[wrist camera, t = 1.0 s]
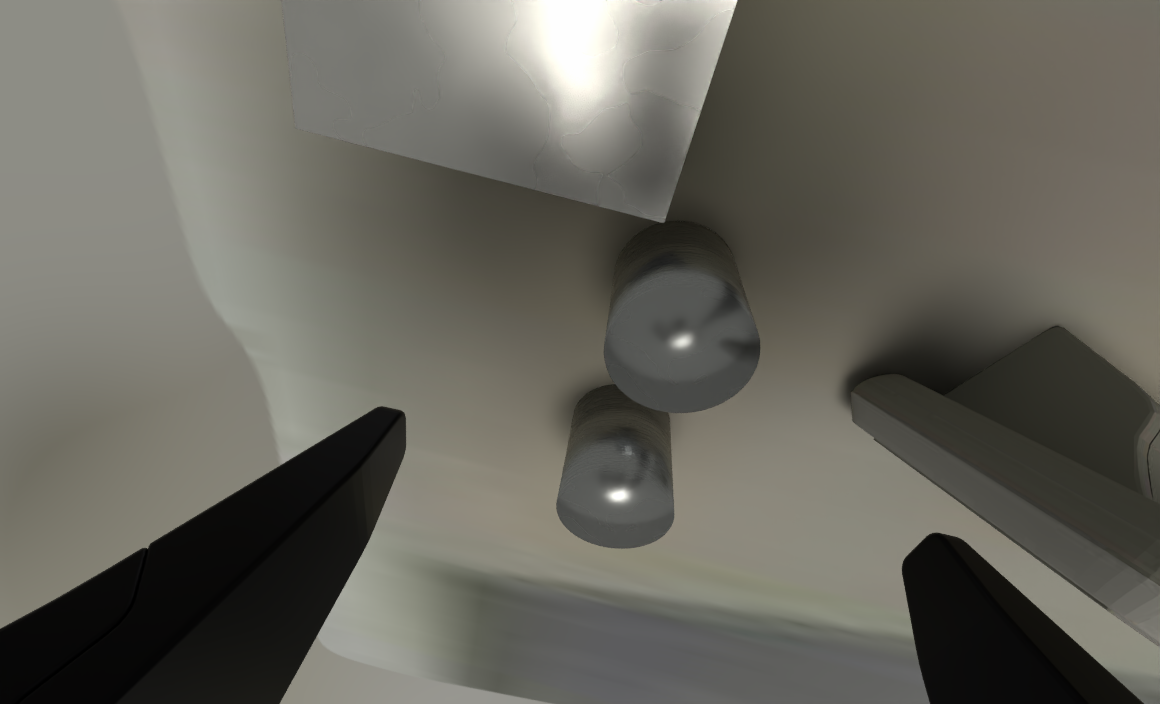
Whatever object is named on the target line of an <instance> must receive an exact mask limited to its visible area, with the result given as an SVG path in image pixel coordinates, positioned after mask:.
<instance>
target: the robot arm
mask: <svg viewBox="0 0 1160 704" xmlns="http://www.w3.org/2000/svg"><path fill="white" fill-rule="evenodd" d="M405 450H406V417H405V414H404V412H403V411H401V410H397V409H392V408H388V407H383V406H381V407H377V408H375V409H373V410H372V411H370V412H368V413H367V414H365V415H363V416H362V417H360V418H358V419H357V420H355V421H353V422H352V423H350V424H348V425H347V426H345V427H343V428H342V429H340V430H338V431H337V432H335V433H333V434H332V435H330V436H328V437H327V438H325V439H323V440H322V441H320V442H318V443H317V444H315V445H313V446H312V447H310V448H308V449H307V450H305V451H303V452H302V453H300V454H298V455H297V456H295V457H293V458H292V459H290V460H289V461H287V462H285V463H284V464H282V465H280V466H279V467H277V468H275V469H274V470H272V471H270V472H269V473H267V474H265V475H264V476H262V477H260V478H259V479H257V480H255V481H254V482H252V483H250V484H249V485H247V486H245V487H244V488H242V489H240V490H239V491H237V492H235V493H234V494H232V495H230V496H229V497H227V498H225V499H224V500H222V501H220V502H219V503H217V504H216V505H214V506H212V507H210V508H209V509H207V510H205V511H204V512H202V513H200V514H199V515H197V516H195V517H194V518H192V519H190V520H189V521H187V522H185V523H184V524H182V525H180V526H179V527H177V528H175V529H174V530H172V531H170V532H169V533H167V534H165V535H164V536H162V537H160V538H159V539H157V540H155V541H154V542H152V543H151V544H150V545H149V548H148V549H147V548H142V549H140V550H139V551H137V552H135V553H133V554H132V555H130V556H128V557H127V558H125V559H123V560H122V561H120V562H118V563H117V564H115V565H113V566H112V567H110V568H108V569H107V570H105V571H103V572H101V573H100V574H98V575H97V576H95V577H93V578H91V579H89V580H88V581H86V582H84V583H82V584H81V585H79V586H77V587H75V588H74V589H72V590H70V591H69V592H67V593H65V594H63V595H62V596H60V597H58V598H56V599H55V600H53V601H51V602H49V603H47V604H45V605H44V606H42V607H40V608H38V609H36V610H34V611H32V612H31V613H29V614H27V615H25V616H23V617H21V618H19V619H18V620H16V621H14V622H12V623H10V624H8V625H7V626H5V627H3V628H1V629H0V704H280V702H281V700H282V698H283V696H284V694H285V693H286V691H287V689H288V687H289V685H290V684H291V681H292V680H293V678H294V676H295V675H296V673H297V671H298V669H299V667H300V665H301V664H302V662H303V660H304V658H305V656H306V655H307V653H308V651H309V649H310V647H311V646H312V644H313V642H314V640H315V638H316V637H317V635H318V633H319V631H320V629H321V627H322V626H323V624H324V622H325V620H326V618H327V617H328V615H329V613H330V611H331V609H332V608H333V606H334V604H335V602H336V600H337V598H338V597H339V595H340V593H341V591H342V589H343V588H344V586H345V584H346V582H347V580H348V579H349V577H350V575H351V573H352V571H353V569H354V568H355V566H356V564H357V562H358V560H359V559H360V557H361V555H362V553H363V551H364V549H365V547H366V545H367V543H368V541H369V539H370V537H371V534H372V532H373V530H374V528H375V525H376V523H377V520H378V518H379V515H380V513H381V511H382V508H383V506H384V503H385V501H386V499H387V496H388V494H389V491H390V489H391V487H392V484H393V482H394V479H395V477H396V474H397V472H398V470H399V467H400V465H401V462H402V460H403V457H404V454H405ZM902 575H903V581H904V586H905V591H906V597H907V602H908V608H909V613H910V618H911V624H912V629H913V635H914V640H915V645H916V651H917V655H918V660H919V665H920V669H921V673H922V677H923V680H924V684H925V688H926V691H927V695H928V698H929V702H930V704H1144V703H1143V702H1142V701H1140V700H1139V699H1138V698H1137V697H1136V696H1135V695H1134V694H1133V693H1132V692H1131V691H1129V690H1128V689H1127V688H1126V687H1125V686H1124V685H1123V684H1122V683H1121V682H1119V681H1118V680H1117V679H1116V678H1115V677H1114V676H1113V675H1112V674H1111V673H1110V672H1108V671H1107V670H1106V669H1105V668H1104V667H1103V666H1102V665H1101V664H1100V663H1098V662H1097V661H1096V660H1095V659H1094V658H1093V657H1092V656H1091V655H1090V654H1089V653H1087V652H1086V651H1085V650H1084V649H1083V648H1082V647H1081V646H1080V645H1079V644H1078V643H1076V642H1075V641H1074V640H1073V639H1072V638H1071V637H1070V636H1069V635H1068V634H1066V633H1065V632H1064V631H1063V630H1062V629H1061V628H1060V627H1059V626H1058V625H1057V624H1055V623H1054V622H1053V621H1052V620H1051V619H1050V618H1049V617H1048V616H1047V615H1045V614H1044V613H1043V612H1042V611H1041V610H1040V609H1039V608H1038V607H1037V606H1036V605H1034V604H1033V603H1032V602H1031V601H1030V600H1029V599H1028V598H1027V597H1026V596H1024V595H1023V594H1022V593H1021V592H1020V591H1019V590H1018V589H1017V588H1016V587H1015V586H1013V585H1012V584H1011V583H1010V582H1009V581H1008V580H1007V579H1006V578H1005V577H1004V576H1002V575H1001V574H1000V573H999V572H998V571H997V570H996V569H995V568H994V567H992V566H991V565H990V564H989V563H988V562H987V561H986V560H985V559H984V558H983V557H981V556H980V555H979V554H978V553H977V552H976V551H975V550H974V549H973V548H971V547H970V546H969V545H968V544H967V543H966V542H965V541H963V540H962V539H960V538H957V537H954V536H950V535H945V534H941V533H932V534H929V535H928V536H927V537H926V538H925V539H924V540H923V541H922V542H921V543H919V544H918V545H917V546H916V547H915V548H914V549H913V550H912V551H911V552H910V553H909V554H908V555H907V556H906V558H905V559H904V561H903V564H902Z"/></svg>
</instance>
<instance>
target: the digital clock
mask: <svg viewBox="0 0 1160 704" xmlns="http://www.w3.org/2000/svg"><path fill="white" fill-rule="evenodd" d="M851 408H852V421H853V422H854V423H855V424H856V425H857V426H859V427H860V428H862V429H863V430H864V431H866V432H867V433H868V434H870V435H871V436H873V437H874V440H875V441H876V442H878V443H879V444H880V445H882V446H883V447H885V448H886V449H887V450H889V451H890V452H891V453H893V454H894V455H895V456H897V457H898V458H900V459H901V460H902V461H904V462H905V463H906V464H908V465H909V466H910V467H912V468H913V469H915V470H916V471H917V472H919V473H920V474H921V475H923V476H924V477H925V478H927V479H928V480H930V481H931V482H932V483H934V484H935V485H936V486H938V487H939V488H941V489H942V490H943V491H945V492H946V493H947V494H949V495H950V496H951V497H953V498H954V499H956V500H957V501H958V502H960V503H961V504H962V505H964V506H965V507H966V508H968V509H969V510H971V511H972V512H973V513H975V514H976V515H977V516H979V517H980V518H981V519H983V520H984V521H986V522H987V523H988V524H990V525H991V526H992V527H994V528H995V529H996V530H998V531H999V532H1001V533H1002V534H1003V535H1005V536H1006V537H1007V538H1009V539H1010V540H1012V541H1013V542H1014V543H1016V544H1017V545H1018V546H1020V547H1021V548H1022V549H1024V550H1025V551H1027V552H1028V553H1029V554H1031V555H1032V556H1033V557H1035V558H1036V559H1037V560H1039V561H1040V562H1042V563H1043V564H1044V565H1046V566H1047V567H1048V568H1050V569H1051V570H1052V571H1054V572H1055V573H1057V574H1058V575H1059V576H1061V577H1062V578H1063V579H1065V580H1066V581H1067V582H1069V583H1070V584H1072V585H1073V586H1074V587H1076V588H1077V589H1078V590H1080V591H1081V592H1083V593H1084V594H1085V595H1087V596H1088V597H1089V598H1091V599H1092V600H1093V601H1095V602H1096V603H1098V604H1099V605H1100V606H1102V607H1103V608H1104V609H1106V610H1107V611H1108V612H1110V613H1111V614H1113V615H1114V616H1116V617H1117V618H1118V619H1120V620H1121V621H1123V622H1124V623H1126V624H1127V625H1128V626H1130V627H1131V628H1133V629H1134V630H1136V631H1137V632H1139V633H1140V634H1141V635H1143V636H1144V637H1146V638H1147V639H1149V640H1150V641H1151V642H1153V643H1154V644H1156V645H1157V646H1159V647H1160V405H1159V404H1158V403H1156V402H1155V401H1154V400H1153V399H1152V398H1151V397H1150V396H1149V395H1148V394H1147V393H1146V392H1145V391H1144V390H1143V389H1141V388H1140V387H1139V386H1138V385H1137V384H1136V383H1135V382H1133V381H1132V380H1131V379H1129V378H1128V377H1127V376H1126V375H1124V374H1123V373H1122V372H1120V371H1119V370H1118V369H1116V368H1115V367H1114V366H1113V365H1111V364H1110V363H1109V362H1107V361H1106V360H1105V359H1103V358H1102V357H1101V356H1100V355H1098V354H1097V353H1096V352H1094V351H1093V350H1092V349H1090V348H1089V347H1088V346H1087V345H1085V344H1084V343H1083V342H1081V341H1080V340H1079V339H1077V338H1076V337H1075V336H1074V335H1072V334H1071V333H1070V332H1068V331H1067V330H1066V329H1064V328H1061V327H1054V328H1052V329H1049V330H1047V331H1045V332H1044V333H1042V334H1040V335H1039V336H1037V337H1036V338H1034V339H1032V340H1031V341H1029V342H1028V343H1026V344H1024V345H1023V346H1021V347H1020V348H1018V349H1017V350H1015V351H1013V352H1012V353H1010V354H1009V355H1007V356H1005V357H1004V358H1002V359H1001V360H999V361H998V362H996V363H994V364H993V365H991V366H990V367H988V368H986V369H985V370H983V371H982V372H980V373H979V374H977V375H975V376H974V377H972V378H971V379H969V380H968V381H966V382H964V383H963V384H961V385H960V386H958V387H957V388H955V389H953V390H952V391H950V392H949V393H947V394H945V395H944V396H943V395H941V394H939V393H937V392H935V391H933V390H931V389H929V388H927V387H925V386H923V385H921V384H919V383H917V382H915V381H913V380H911V379H908V378H906V377H904V376H902V375H900V374H888V375H881V376H877V377H873V378H869V379H867V380H865V381H863V382H862V383H860V384H859V385H857V386H856V387H855V388H854V390H853V391H851Z"/></svg>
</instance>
